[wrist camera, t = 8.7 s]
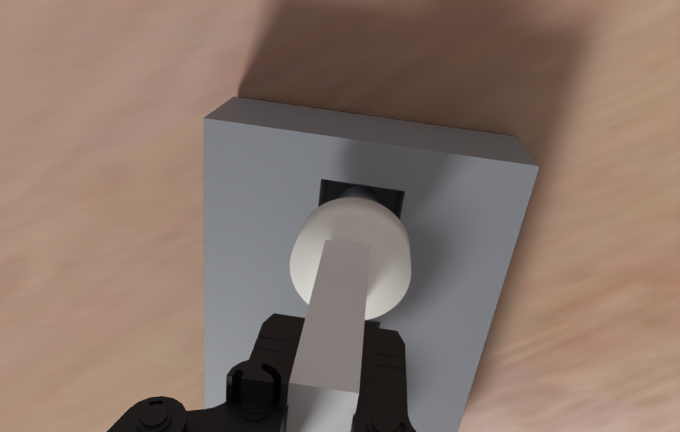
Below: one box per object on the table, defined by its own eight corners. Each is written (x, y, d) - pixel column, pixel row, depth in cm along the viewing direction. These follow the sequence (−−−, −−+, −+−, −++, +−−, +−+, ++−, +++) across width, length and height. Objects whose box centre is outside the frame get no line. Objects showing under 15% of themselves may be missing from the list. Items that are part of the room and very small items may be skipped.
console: (226, 410, 32) (204, 465, 28) (233, 96, 23) (203, 118, 19) (430, 444, 31) (434, 505, 28) (516, 136, 22) (539, 166, 19)
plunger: (308, 243, 23) (285, 311, 18) (316, 157, 21) (294, 207, 16) (399, 257, 23) (400, 329, 18) (415, 171, 21) (421, 226, 16)
